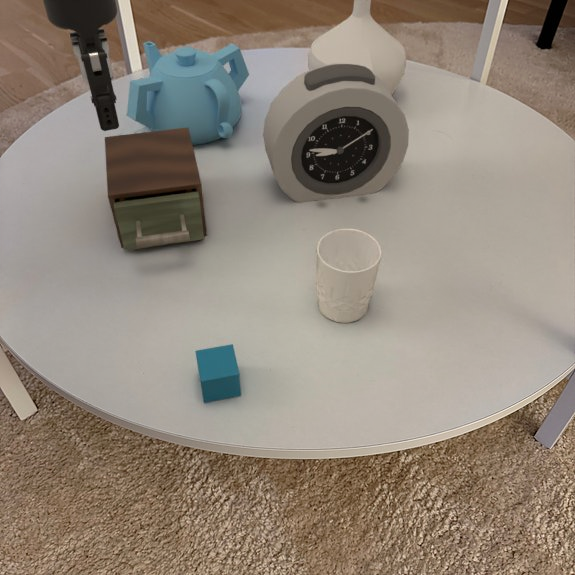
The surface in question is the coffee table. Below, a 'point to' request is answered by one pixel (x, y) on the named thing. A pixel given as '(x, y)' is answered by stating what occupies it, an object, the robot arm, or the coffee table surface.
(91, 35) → the robot arm
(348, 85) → the alarm clock
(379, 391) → the coffee table surface
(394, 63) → the vase
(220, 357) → the blue block
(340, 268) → the white cup
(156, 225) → the drawer
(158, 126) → the teapot
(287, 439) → the coffee table surface
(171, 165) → the cabinet
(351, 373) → the coffee table surface
